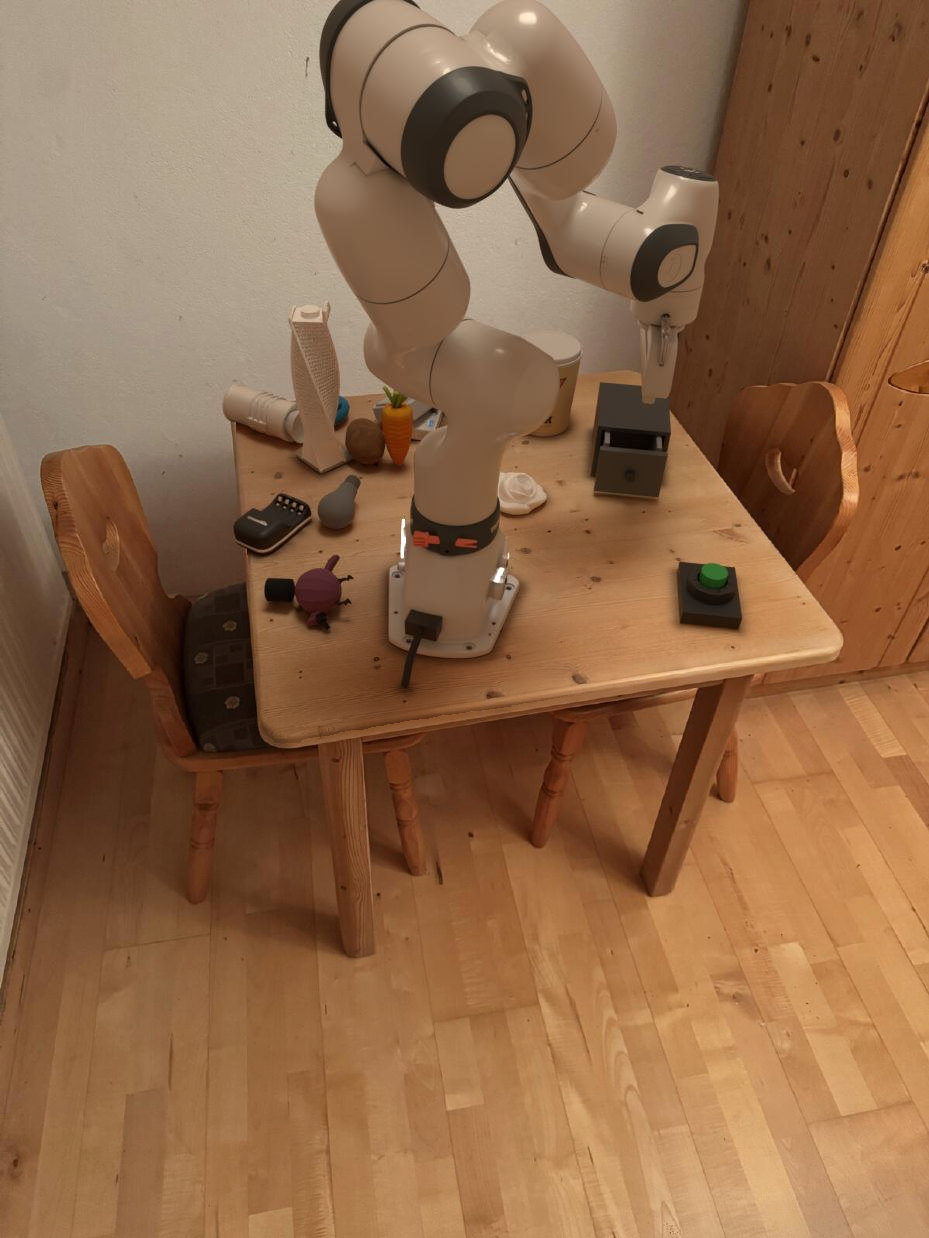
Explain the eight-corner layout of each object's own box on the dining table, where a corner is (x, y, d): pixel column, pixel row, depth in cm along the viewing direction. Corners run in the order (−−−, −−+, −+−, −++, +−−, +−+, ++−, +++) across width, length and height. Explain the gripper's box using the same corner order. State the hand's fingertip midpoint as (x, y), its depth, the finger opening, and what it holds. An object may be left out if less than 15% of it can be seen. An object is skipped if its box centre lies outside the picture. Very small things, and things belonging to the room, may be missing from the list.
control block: (738, 629, 122) (745, 608, 119) (679, 623, 123) (685, 601, 120) (731, 578, 130) (738, 557, 127) (676, 572, 130) (681, 551, 128)
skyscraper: (360, 462, 149) (349, 299, 130) (321, 480, 145) (304, 315, 126) (329, 441, 154) (315, 281, 135) (290, 458, 149) (270, 296, 130)
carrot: (377, 467, 149) (373, 385, 138) (396, 454, 152) (394, 374, 141) (400, 477, 147) (398, 395, 136) (419, 465, 150) (418, 383, 139)
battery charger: (312, 500, 135) (262, 538, 128) (314, 520, 137) (265, 559, 130) (277, 485, 137) (225, 522, 130) (280, 505, 140) (229, 543, 133)
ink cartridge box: (445, 399, 161) (392, 393, 162) (434, 430, 153) (379, 424, 154) (444, 411, 163) (392, 405, 164) (434, 443, 155) (379, 436, 156)
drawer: (658, 502, 142) (667, 460, 137) (593, 495, 143) (599, 454, 137) (656, 452, 153) (664, 412, 147) (595, 447, 153) (601, 406, 148)
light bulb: (378, 488, 139) (351, 535, 134) (351, 491, 142) (324, 537, 137) (360, 462, 135) (331, 510, 130) (333, 465, 138) (304, 512, 133)
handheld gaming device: (409, 400, 150) (415, 422, 151) (450, 372, 160) (456, 392, 162) (367, 405, 154) (373, 426, 156) (410, 377, 165) (416, 396, 167)
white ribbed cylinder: (294, 454, 151) (227, 429, 157) (319, 431, 155) (252, 408, 161) (286, 420, 146) (217, 397, 152) (311, 398, 150) (243, 375, 156)
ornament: (324, 416, 152) (282, 397, 156) (327, 438, 155) (287, 419, 160) (356, 394, 156) (315, 376, 161) (359, 417, 160) (319, 398, 164)
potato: (337, 415, 149) (343, 446, 154) (347, 445, 142) (352, 478, 147) (376, 407, 150) (381, 439, 154) (387, 438, 143) (391, 470, 148)
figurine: (262, 628, 120) (348, 632, 118) (253, 574, 116) (342, 577, 115) (281, 602, 127) (363, 605, 125) (274, 550, 123) (358, 553, 122)
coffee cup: (497, 428, 159) (502, 349, 149) (526, 400, 166) (532, 323, 156) (557, 446, 155) (566, 367, 145) (583, 417, 162) (594, 339, 152)
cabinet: (660, 483, 148) (671, 432, 141) (590, 476, 148) (597, 425, 142) (658, 436, 158) (668, 387, 152) (592, 430, 159) (599, 381, 152)
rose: (486, 458, 144) (546, 459, 144) (485, 480, 147) (543, 481, 147) (488, 493, 136) (551, 494, 136) (486, 517, 139) (548, 518, 139)
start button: (726, 590, 122) (729, 581, 121) (699, 587, 123) (702, 578, 121) (724, 574, 125) (726, 564, 124) (698, 571, 125) (700, 561, 124)
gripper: (693, 337, 109) (672, 435, 118) (686, 272, 124) (667, 364, 133) (641, 333, 109) (625, 431, 119) (640, 268, 124) (625, 360, 134)
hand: (647, 395), depth 126 cm, fingers closed
